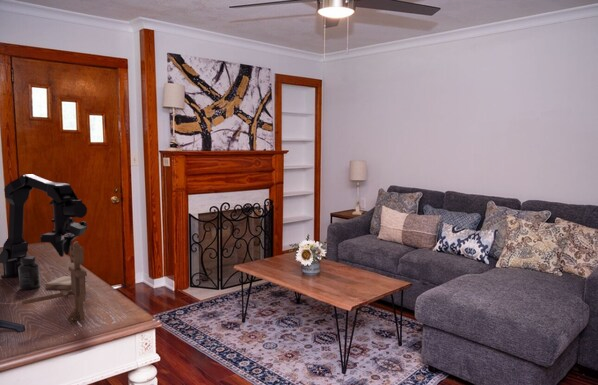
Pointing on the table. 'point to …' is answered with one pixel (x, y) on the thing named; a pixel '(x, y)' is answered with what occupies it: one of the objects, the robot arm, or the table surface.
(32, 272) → the supplement bottle
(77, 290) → the wooden figure
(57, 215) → the robot arm
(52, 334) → the table surface
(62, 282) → the beige flat block
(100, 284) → the table surface
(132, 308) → the table surface
